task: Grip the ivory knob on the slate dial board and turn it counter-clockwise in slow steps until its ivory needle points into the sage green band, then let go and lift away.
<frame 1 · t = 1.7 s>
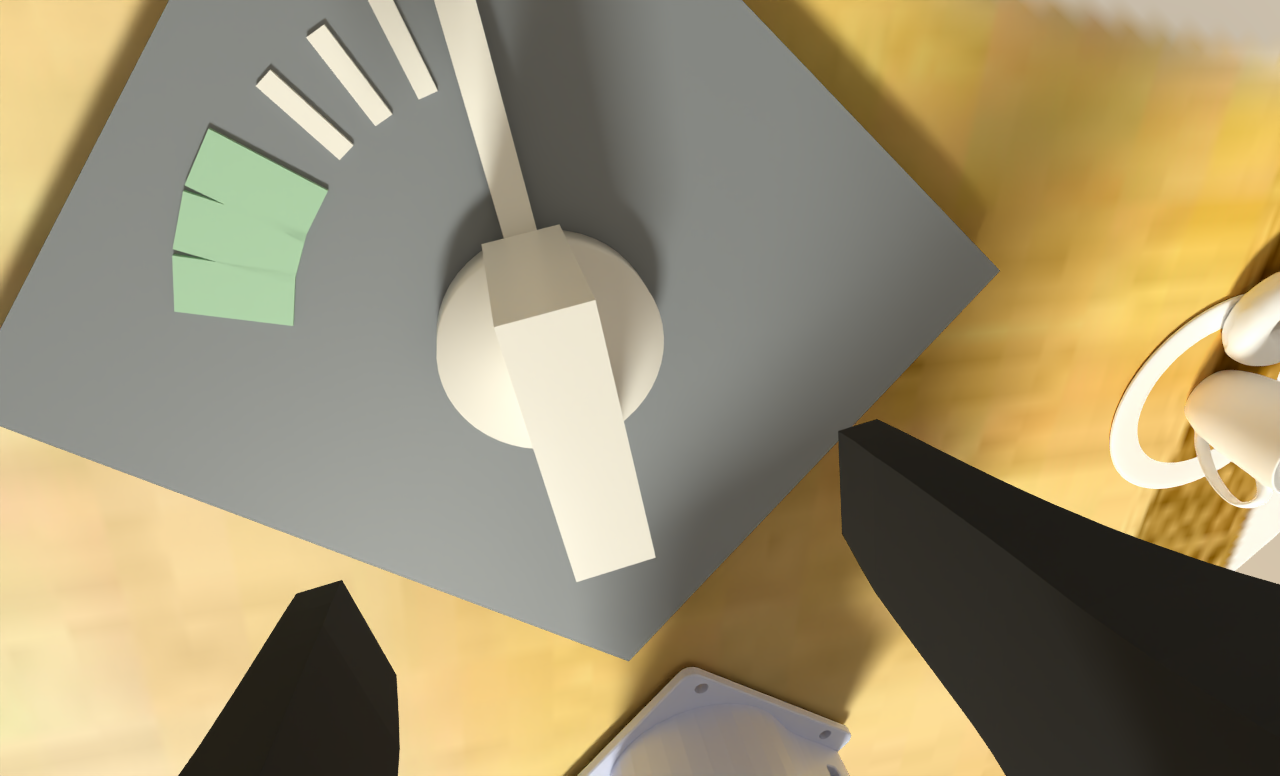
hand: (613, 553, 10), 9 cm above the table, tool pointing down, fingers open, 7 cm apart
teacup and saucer: (1270, 352, 26), on the table
dial board: (541, 311, 18), on the table
knob: (531, 269, 13), point 4 cm above the table, hinge at -40.0°
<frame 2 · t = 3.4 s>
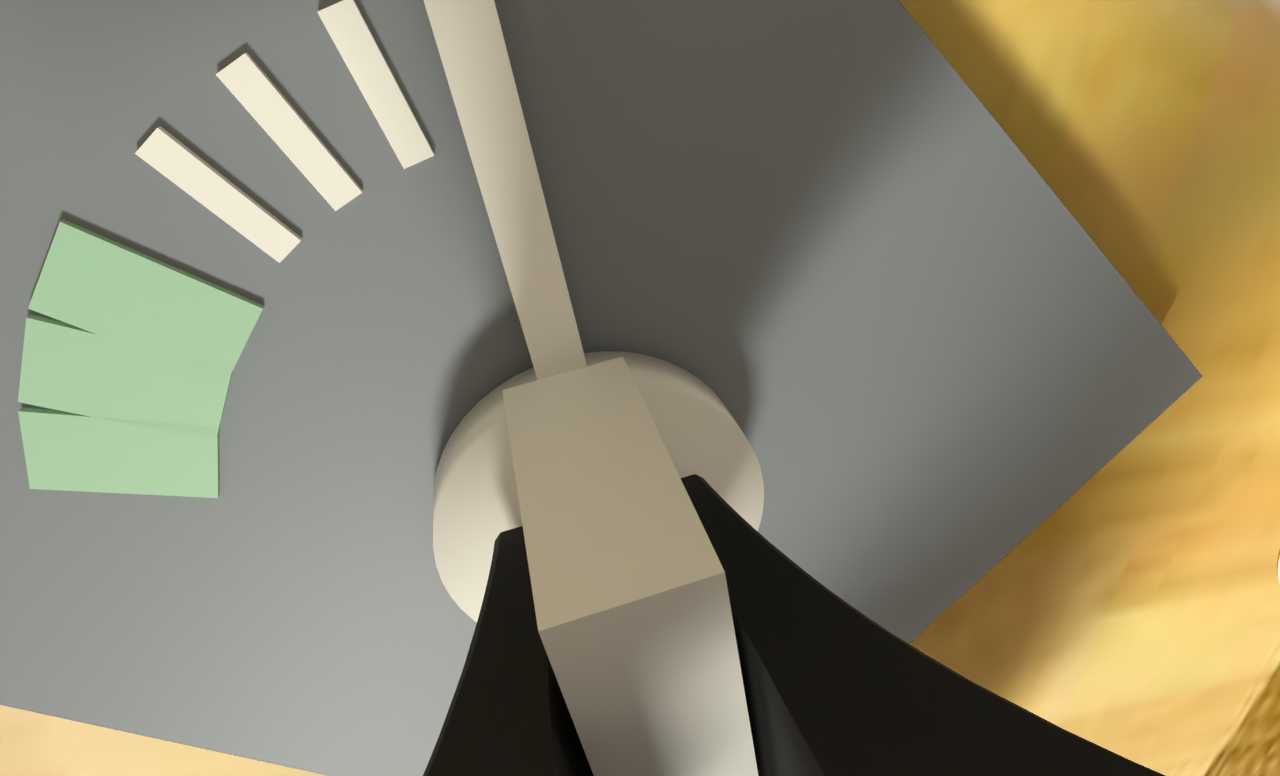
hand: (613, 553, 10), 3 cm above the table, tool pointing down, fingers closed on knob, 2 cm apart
dial board: (580, 442, 13), on the table
knob: (586, 450, 8), point 4 cm above the table, hinge at -40.0°, touching gripper
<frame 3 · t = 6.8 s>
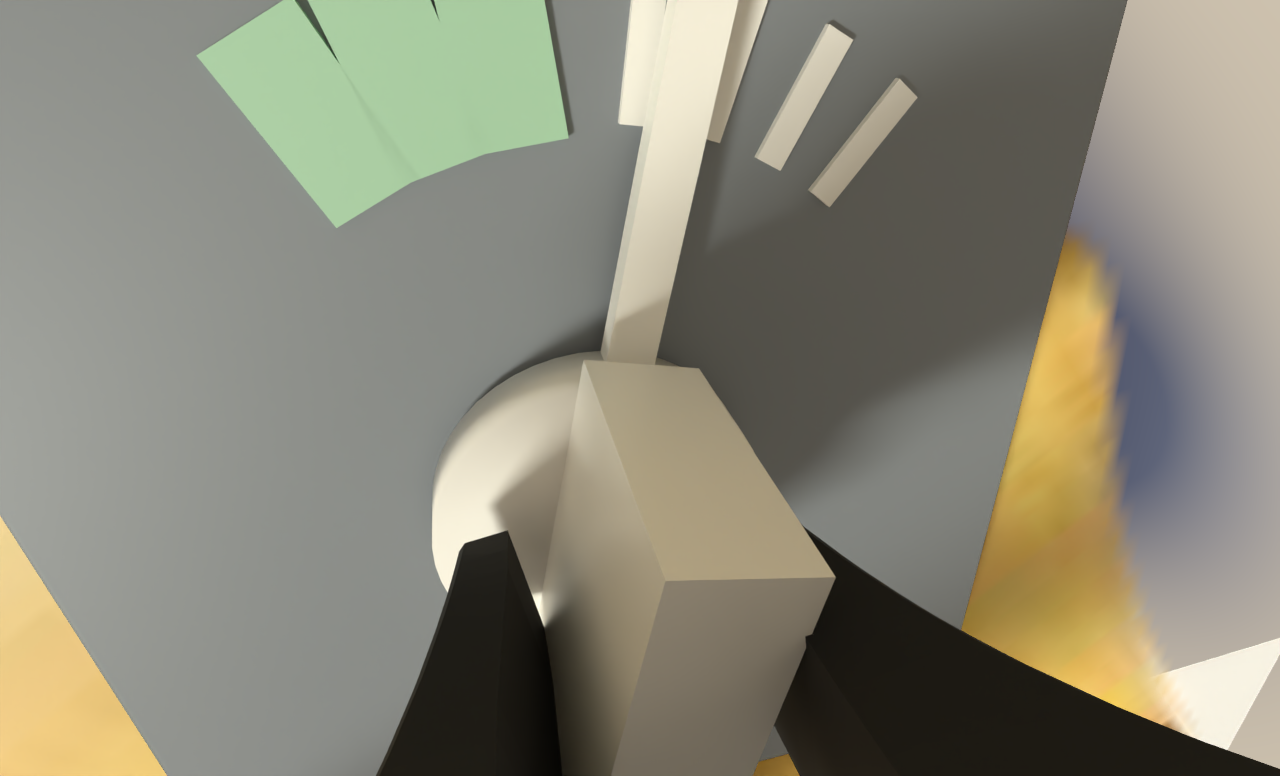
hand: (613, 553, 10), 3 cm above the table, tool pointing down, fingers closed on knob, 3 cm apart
dial board: (579, 442, 13), on the table
knob: (670, 438, 8), point 4 cm above the table, hinge at -14.1°, touching gripper
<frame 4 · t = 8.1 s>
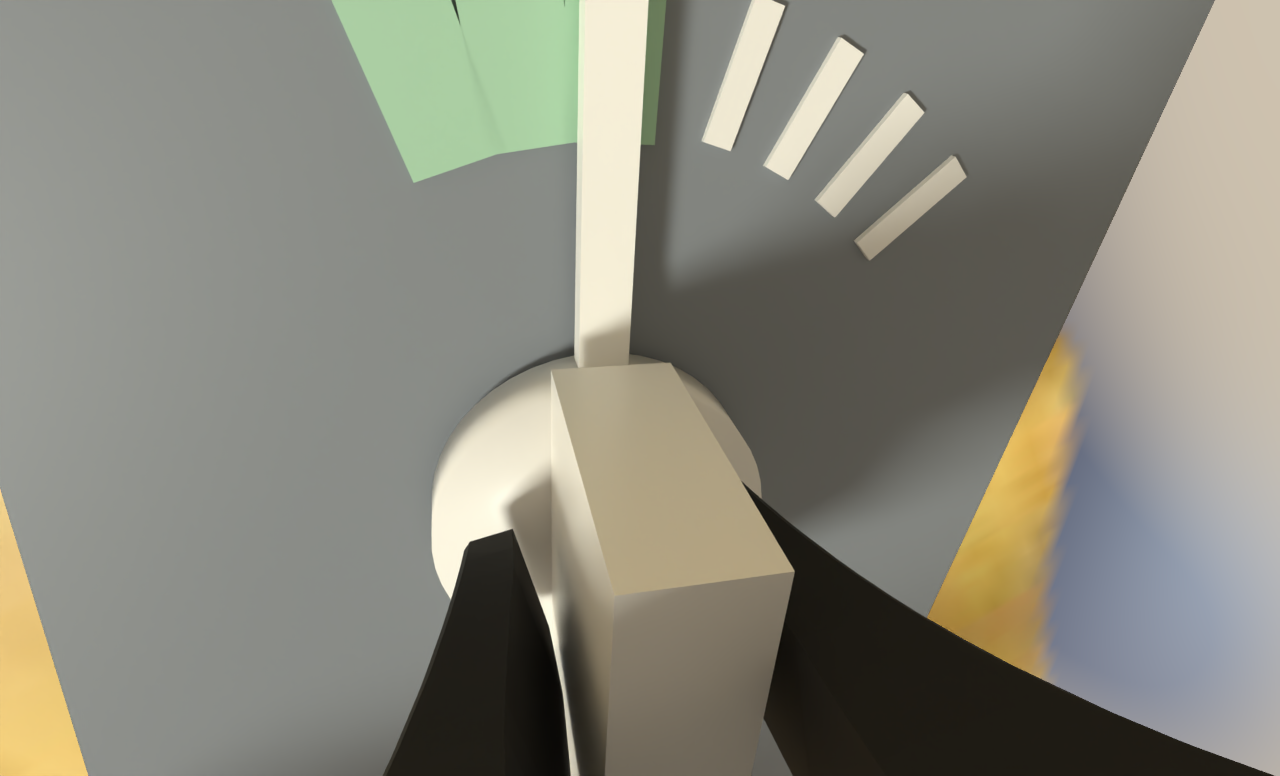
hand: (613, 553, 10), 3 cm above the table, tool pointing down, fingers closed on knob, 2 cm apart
dial board: (578, 443, 13), on the table
knob: (637, 441, 8), point 4 cm above the table, hinge at 6.0°, touching gripper
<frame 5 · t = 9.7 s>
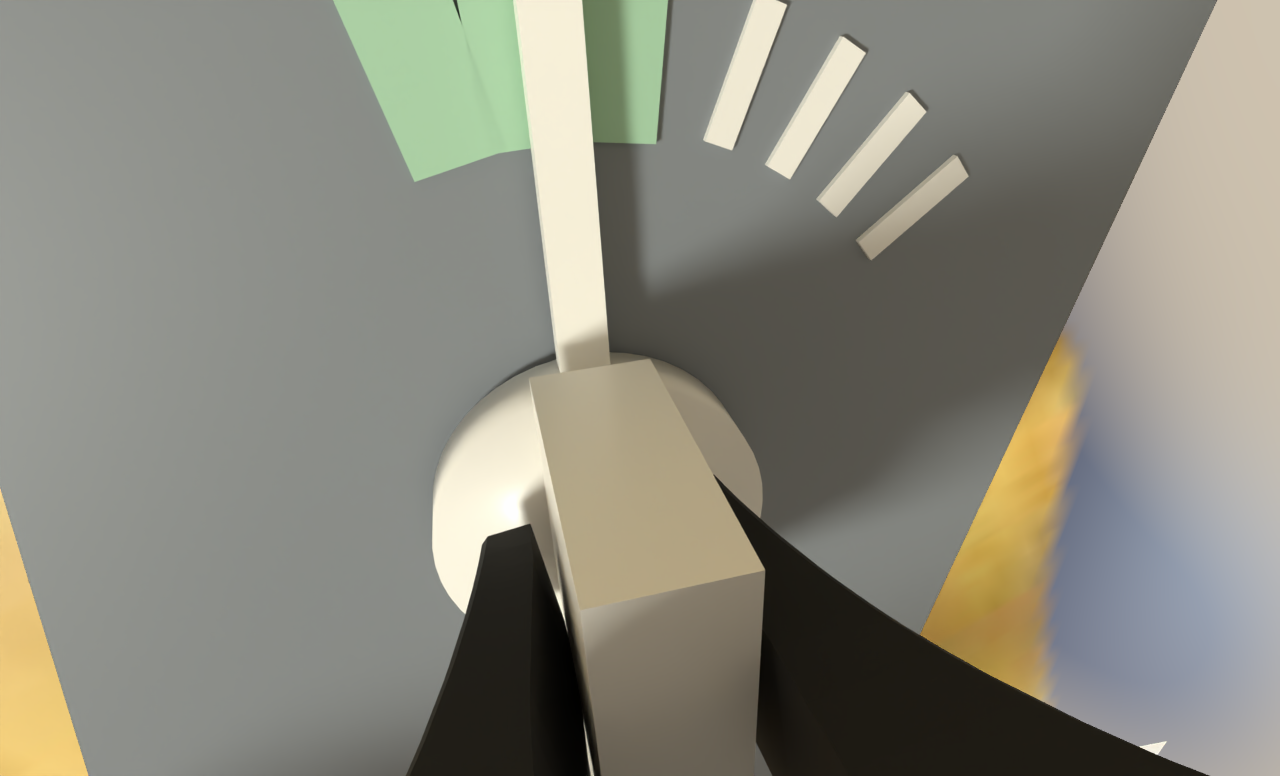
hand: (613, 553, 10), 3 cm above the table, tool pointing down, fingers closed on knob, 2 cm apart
dial board: (579, 443, 13), on the table
knob: (614, 444, 8), point 4 cm above the table, hinge at 12.2°, touching gripper
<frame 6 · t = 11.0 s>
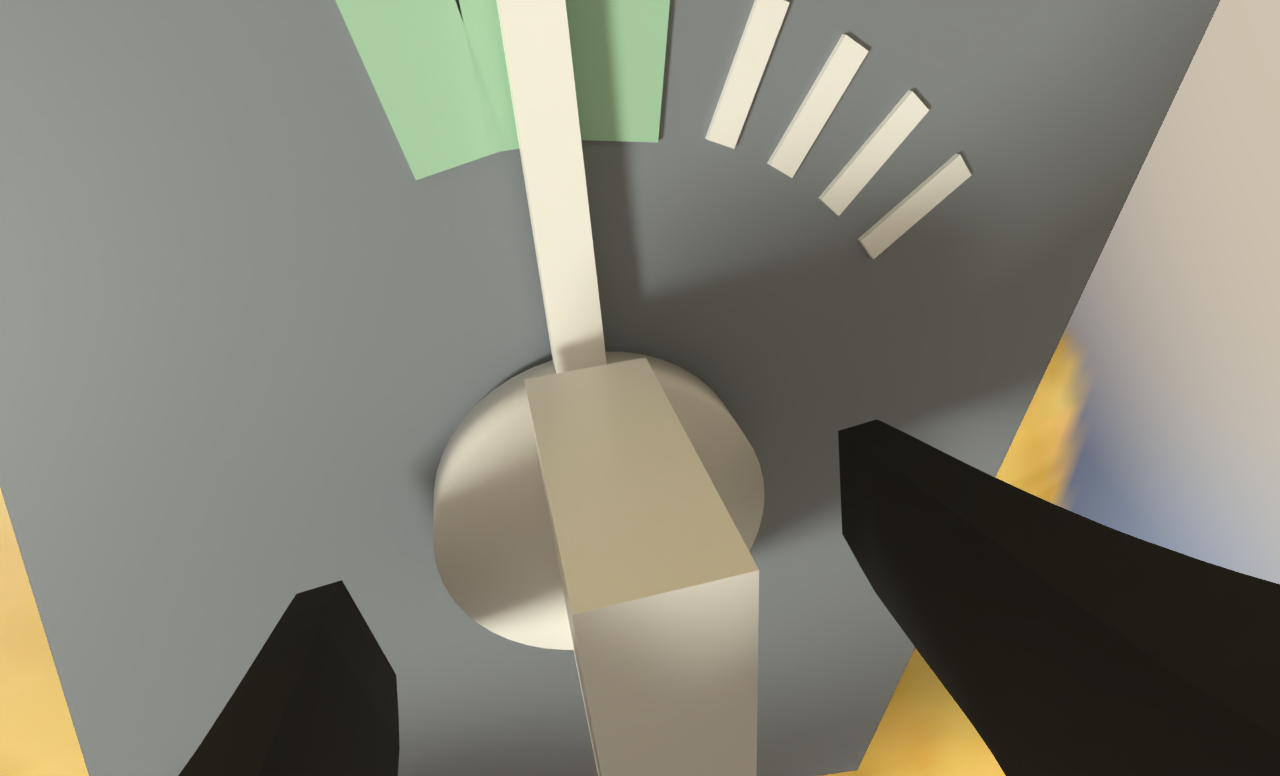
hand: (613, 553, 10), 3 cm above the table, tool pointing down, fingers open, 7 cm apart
dial board: (580, 442, 13), on the table
knob: (610, 444, 8), point 4 cm above the table, hinge at 13.8°
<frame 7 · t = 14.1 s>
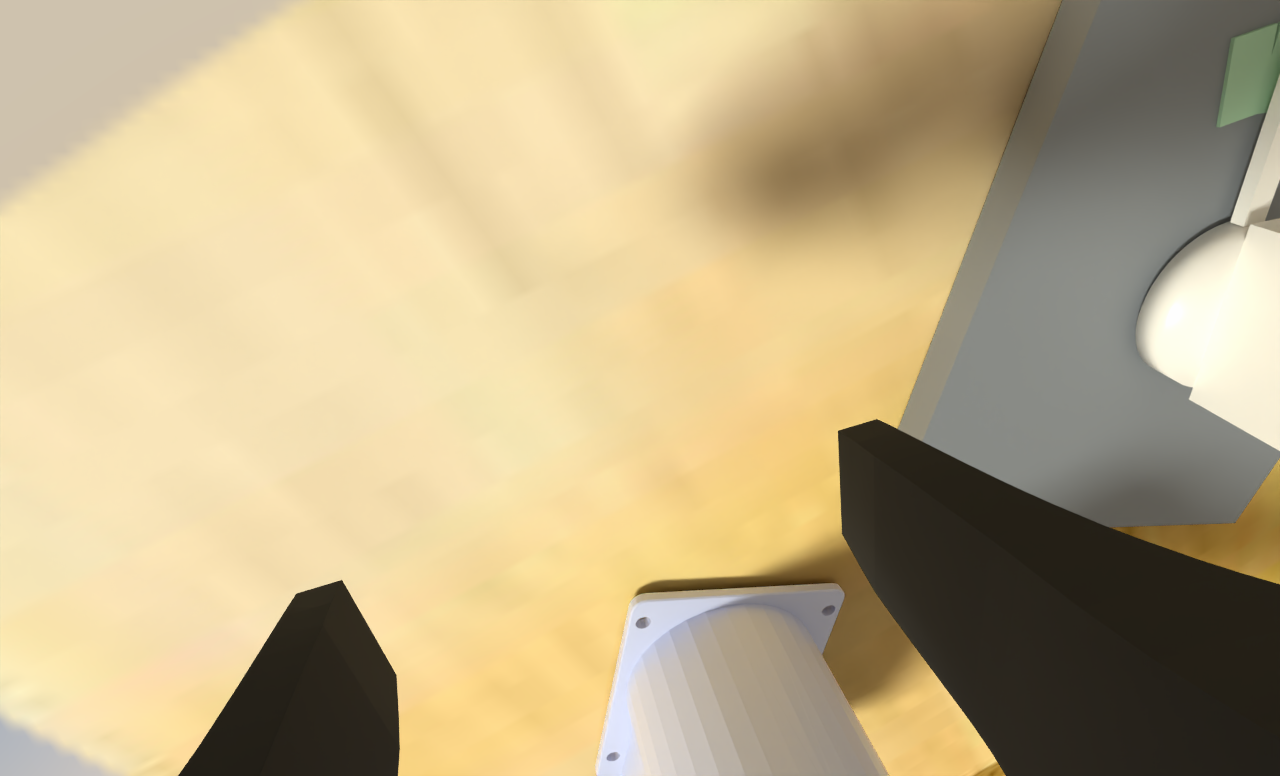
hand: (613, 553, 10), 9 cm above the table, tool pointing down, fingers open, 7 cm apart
dial board: (1170, 282, 23), on the table
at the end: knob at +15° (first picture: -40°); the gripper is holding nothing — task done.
